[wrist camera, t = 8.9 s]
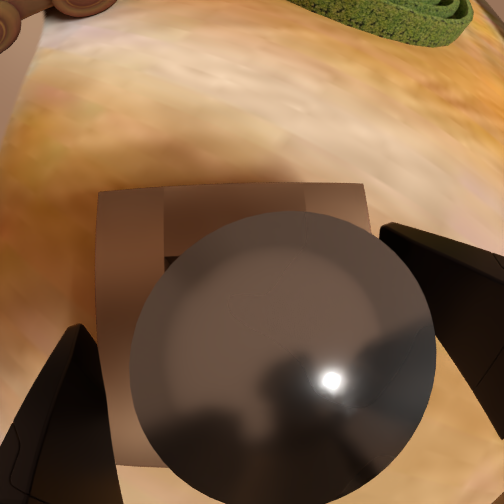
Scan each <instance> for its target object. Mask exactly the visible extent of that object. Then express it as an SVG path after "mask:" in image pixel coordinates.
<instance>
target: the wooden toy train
mask: <svg viewBox="0 0 504 504" xmlns="http://www.w3.org/2000/svg"><path fill="white" fill-rule="evenodd" d="M116 1H117V0H0V54H1V53H2V52H3V51H5V50H6V49H8V48H9V47H10V46H11V45H12V44H13V42H15V40H16V39H17V37H18V35H19V33H20V30H21V20H23V19H25V18H27V17H29V16H31V15H33V14H36V13H38V12H40V11H43V10H45V9H47V8H50V7H52V6H55V8H56V9H58V10H59V11H60V12H62V13H63V14H66V15H70V16H73V17H85V16H90V15H95V14H97V13H99V12H102V11H104V10H106V9H107V8H108V7H110V6H111V5H113V4H114V3H115V2H116Z"/></svg>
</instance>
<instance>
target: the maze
mask: <svg viewBox="0 0 504 504" xmlns="http://www.w3.org/2000/svg"><path fill="white" fill-rule="evenodd" d="M287 1H290V2H292V3H294V4H296V5H299V6H301V7H303V8H305V9H307V10H309V11H311V12H314V13H317V14H319V15H322V16H325V17H327V18H330V19H332V20H335V21H337V22H340V23H342V24H345V25H347V26H350V27H353V28H356V29H359V30H362V31H365V32H368V33H371V34H374V35H377V36H379V37H383V38H387V39H391V40H395V41H399V42H402V43H406V44H409V45H417V46H425V47H432V48H433V47H441V46H448V45H449V44H451V43H452V42H453V41H455V40H456V39H457V38H458V37H459V35H460V34H461V33H462V32H463V31H464V29H465V28H466V27H467V26H468V25H469V23H470V22H471V21H472V19H473V13H474V12H473V9H472V6H471V3H470V1H469V0H287Z"/></svg>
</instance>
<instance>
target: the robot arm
mask: <svg viewBox="0 0 504 504" xmlns="http://www.w3.org/2000/svg"><path fill="white" fill-rule="evenodd" d="M379 239H380V240H381V241H382V242H383V243H385V244H386V245H387V246H388V247H389V248H390V249H391V250H393V251H394V252H395V253H396V254H397V255H398V257H399V258H400V259H401V260H402V261H403V262H404V263H405V265H406V266H407V267H408V268H409V270H410V271H411V273H412V274H413V276H414V277H415V279H416V280H417V282H418V284H419V286H420V288H421V290H422V292H423V294H424V296H425V298H426V301H427V304H428V307H429V310H430V313H431V316H432V321H433V326H434V331H435V335H436V337H437V338H438V340H439V341H440V343H441V344H442V345H443V347H444V348H445V350H446V351H447V353H448V354H449V356H450V357H451V359H452V360H453V362H454V363H455V365H456V366H457V368H458V369H459V371H460V372H461V374H462V375H463V377H464V378H465V380H466V382H467V383H468V385H469V386H470V388H471V389H472V391H473V393H474V395H475V396H476V398H477V399H478V401H479V403H480V404H481V406H482V408H483V409H484V411H485V413H486V414H487V416H488V418H489V420H490V421H491V423H492V425H493V427H494V428H495V430H496V432H497V434H498V435H499V437H500V438H501V440H503V439H504V256H501V255H498V254H495V253H491V252H489V251H486V250H483V249H480V248H477V247H474V246H471V245H468V244H465V243H462V242H458V241H455V240H452V239H449V238H446V237H442V236H439V235H436V234H433V233H429V232H426V231H422V230H419V229H416V228H412V227H409V226H405V225H402V224H398V223H394V222H391V223H388V224H385V225H382V226H381V228H380V234H379ZM13 422H14V423H12V424H11V426H10V428H9V430H8V432H7V434H6V436H5V438H4V440H3V442H2V444H1V446H0V504H123V499H122V495H121V490H120V485H119V480H118V475H117V470H116V464H115V458H114V452H113V446H112V439H111V431H110V423H109V415H108V405H107V397H106V391H105V386H104V380H103V375H102V369H101V364H100V357H99V351H98V347H97V344H96V342H95V341H94V339H93V338H92V337H91V335H90V334H89V332H88V331H87V329H86V328H85V327H84V325H82V324H76V325H73V326H70V327H68V328H67V330H66V331H65V333H64V334H63V336H62V338H61V339H60V341H59V342H58V344H57V345H56V347H55V349H54V350H53V352H52V353H51V355H50V357H49V358H48V360H47V362H46V363H45V365H44V367H43V368H42V370H41V372H40V373H39V375H38V377H37V379H36V380H35V382H34V384H33V385H32V387H31V389H30V391H29V393H28V394H27V396H26V398H25V400H24V402H23V403H22V405H21V407H20V409H19V411H18V413H17V415H16V417H15V418H14V421H13ZM492 504H504V492H503V493H502V494H501V495H500V496H499V497H498V498H497V499H496V500H495V501H494V502H493V503H492Z"/></svg>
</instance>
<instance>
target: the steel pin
mask: <svg viewBox="0 0 504 504" xmlns="http://www.w3.org/2000/svg"><path fill="white" fill-rule="evenodd" d="M435 369H436V340H435V331H434V326H433V321H432V316H431V313H430V310H429V307H428V304H427V301H426V298H425V296H424V294H423V292H422V290H421V288H420V286H419V284H418V282H417V280H416V279H415V277H414V276H413V274H412V273H411V271H410V270H409V268H408V267H407V266H406V265H405V263H404V262H403V261H402V260H401V259H400V258H399V257H398V255H397V254H396V253H395V252H394V251H393V250H391V249H390V248H389V247H388V246H387V245H386V244H385V243H383V242H382V241H381V240H380V239H378V238H377V237H375V236H374V235H372V234H371V233H369V232H368V231H366V230H364V229H362V228H360V227H358V226H356V225H354V224H352V223H350V222H348V221H345V220H342V219H338V218H335V217H332V216H329V215H324V214H318V213H313V212H303V211H281V212H270V213H264V214H259V215H255V216H251V217H246V218H243V219H241V220H238V221H235V222H233V223H230V224H227V225H225V226H223V227H221V228H219V229H217V230H216V231H214V232H212V233H210V234H208V235H206V236H205V237H203V238H202V239H200V240H199V241H198V242H196V243H195V244H194V245H192V246H191V247H189V248H188V249H187V250H186V251H185V252H184V253H183V254H182V255H180V256H179V257H178V258H177V259H176V260H175V261H174V262H173V263H172V264H171V265H170V266H169V268H168V269H167V270H166V271H165V273H164V274H163V275H162V276H161V278H160V279H159V280H158V282H157V283H156V284H155V286H154V288H153V290H152V291H151V293H150V295H149V296H148V298H147V300H146V302H145V304H144V306H143V308H142V311H141V313H140V316H139V318H138V321H137V323H136V327H135V331H134V335H133V339H132V343H131V351H130V362H129V375H130V389H131V394H132V399H133V404H134V409H135V412H136V414H137V417H138V420H139V423H140V425H141V428H142V430H143V432H144V434H145V435H146V437H147V439H148V441H149V443H150V445H151V446H152V448H153V449H154V450H155V452H156V453H157V454H158V456H159V457H160V458H161V460H162V461H163V462H164V463H165V464H166V465H167V466H168V467H169V468H170V469H171V470H172V471H173V472H174V473H175V474H176V475H177V476H178V477H179V478H181V479H182V480H183V481H184V482H186V483H187V484H188V485H190V486H191V487H193V488H194V489H196V490H198V491H199V492H201V493H203V494H205V495H207V496H208V497H210V498H213V499H215V500H218V501H220V502H223V503H225V504H326V503H329V502H331V501H334V500H336V499H339V498H341V497H343V496H345V495H347V494H349V493H351V492H353V491H355V490H357V489H359V488H360V487H362V486H363V485H364V484H366V483H367V482H369V481H370V480H372V479H373V478H374V477H376V476H377V475H378V474H379V473H380V472H382V471H383V470H384V469H385V468H386V467H387V466H388V465H389V464H390V463H391V462H392V461H393V460H394V459H395V458H396V457H397V456H398V454H399V453H400V452H401V451H402V450H403V448H404V447H405V445H406V444H407V443H408V441H409V440H410V439H411V437H412V435H413V434H414V432H415V430H416V428H417V427H418V425H419V423H420V421H421V419H422V417H423V414H424V412H425V409H426V407H427V404H428V401H429V398H430V394H431V391H432V387H433V382H434V376H435Z"/></svg>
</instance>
